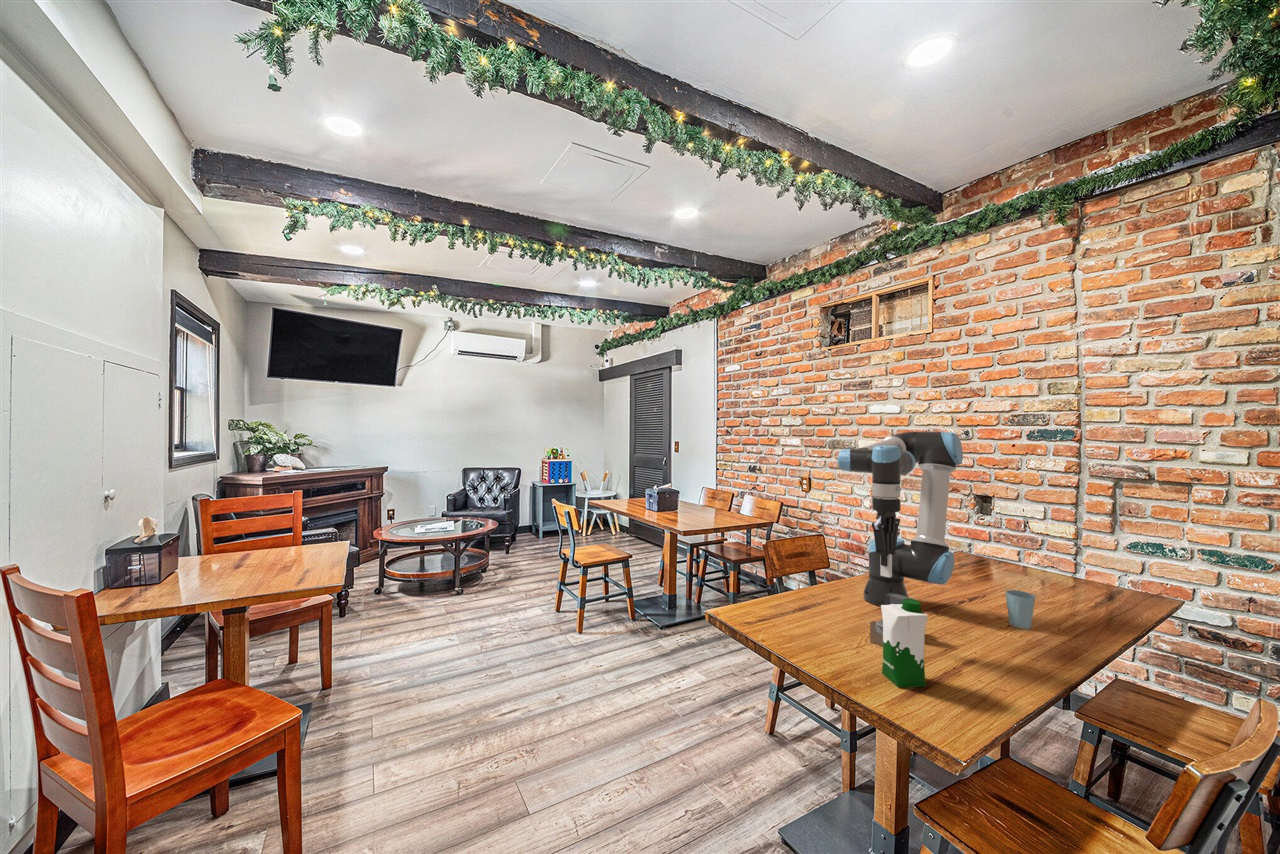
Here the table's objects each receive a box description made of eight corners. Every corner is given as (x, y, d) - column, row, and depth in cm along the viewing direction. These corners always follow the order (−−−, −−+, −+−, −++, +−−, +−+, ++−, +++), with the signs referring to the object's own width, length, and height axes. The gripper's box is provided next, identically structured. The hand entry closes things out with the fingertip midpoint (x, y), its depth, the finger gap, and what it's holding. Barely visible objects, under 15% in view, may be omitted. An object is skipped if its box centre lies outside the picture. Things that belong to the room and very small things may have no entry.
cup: (1040, 628, 155) (1040, 596, 155) (1026, 632, 152) (1026, 599, 152) (1014, 619, 162) (1014, 588, 162) (1000, 623, 159) (1000, 591, 159)
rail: (897, 652, 137) (897, 629, 137) (863, 640, 145) (863, 617, 145) (925, 636, 148) (925, 614, 148) (892, 625, 156) (892, 605, 156)
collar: (909, 637, 145) (909, 601, 145) (885, 629, 150) (885, 594, 150) (914, 634, 147) (914, 598, 147) (890, 626, 152) (890, 592, 152)
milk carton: (931, 688, 118) (932, 607, 118) (896, 690, 117) (897, 608, 117) (908, 670, 127) (909, 595, 127) (876, 671, 126) (876, 595, 126)
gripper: (888, 501, 136) (888, 584, 136) (909, 496, 144) (909, 574, 144) (862, 497, 142) (862, 577, 142) (884, 493, 150) (884, 568, 150)
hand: (886, 576), depth 143 cm, fingers closed
